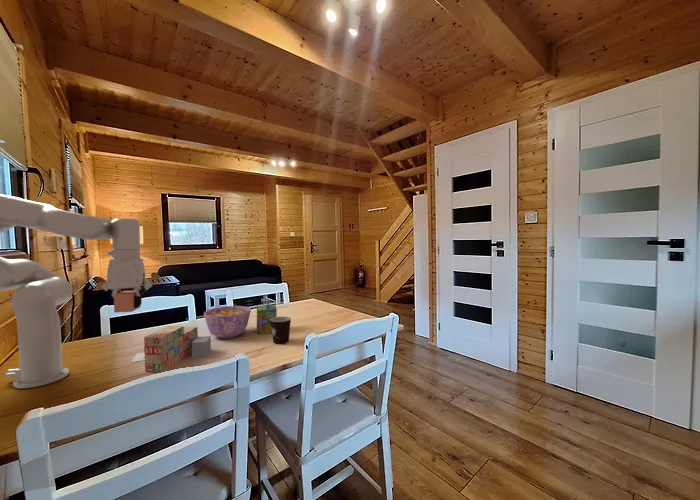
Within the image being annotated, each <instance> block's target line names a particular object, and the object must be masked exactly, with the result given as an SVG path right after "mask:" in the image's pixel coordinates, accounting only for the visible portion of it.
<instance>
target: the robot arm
mask: <svg viewBox="0 0 700 500" xmlns="http://www.w3.org/2000/svg"><path fill="white" fill-rule="evenodd" d="M17 226H18V227H21V228H27V229H32V230H37V231H41V232H45V233H50V234H56V235H59V236H65V237H70V238H73V239H74V238H75V239H79V240H86V241H87V240H88V241H105V240H112V250H111V251H108V253H107V255H108V256H110V257H112V258H110V259H109V262H108V266H107V271H106V273H107V274H106V281H105V282H104V283H103V284H102V285H101V289H102V290H104V291H105V292H107V293H108V294H110V295H111V297H112V298H113V299H114V294H117V293H120V292H122V289H133V291H134V292H135V297H134V308H138V307H140V308H141V305H142V296H143V294H145V293H146V292H147V290H149V289H150V288H152V287H153V284H152V283H151V282H150V281H149V280H148V279H147V278H146V277H147V276H146V269H145V263H144V261H143V258H141V241H140V240H141V237H140V236H141V233H140V232H141V231H140V229H141V228H140V222H139V220H137V219H135V218H128V217H127V218H126V217H125V218H124V217H123V218H120V217H119V218H118V217H117V218H114V219H111V218H105V217H100V216H91V215H87V214H86V215H85V214H83V213H77V212H72V211H67V210H63V209H60V208H56V207H55V206H53V205H51V204H48V203H42V202H37V201H33V200H28V199H25V198H24V199H23V198H22V197H17V196H12V195H6V194H0V233H3V232H6V231H8V230H10V229H13V228H15V227H17ZM143 286H144V287H143ZM11 290H14V293H13V294H12V295H11V296H12V297H11V305H12V310H13V311H14V314H15V315H14V316H15V320H16V327H17V329H16V330H17V341H18V342H17V343H18V363H19V368H10V369H8V370H7V371H6V373H5V378H6V379H8V378H15V380H14V381H13V382H12V387H13V388H15V389H32V388H36V387H37V388H38V387H42V386H44V385H48V384H52V383H55V382H57V381H60V380H62V379H64V378H65V377H67V376H68V375H69V374H70V369H69V368H67V367H63V349H62V348H63V347H62V331H61V318H60V315H59V312H58V309H57V306H59V305H63V304H64V303H65V302H67V301H69V300H70V299H71V297H72V296H73V292H74V291H73V290H74V289H73V286H72V284H71V283H70V282H69V281H68V280H66V279H65V278H64V277H62V276H61V275H58V274H57V273H55V272H54V271H52V270H50V269H48V268H47V267H46V266H43V265H42V264H40V263H39V262H36V261H34V260H31V259H26V258H14V259H13V258H12V259H11V258H10V259H9V258H5V257H3V256H1V255H0V292H5V291H11ZM138 309H139V308H138Z"/></svg>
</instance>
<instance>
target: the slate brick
mask: <svg viewBox="0 0 700 500" xmlns="http://www.w3.org/2000/svg"><path fill="white" fill-rule="evenodd" d="M211 340H212V339H211V335H209V336H208V335H207V336H206V335H205V336H198V337H196V339H195V340H194V341H193V342H192V353H191V358H192V359H200V358H202V359H203V358H208V356H209V355H210V353H211V351H212V348H211V347H212V346H211V345H212V344H211V343H212V341H211Z"/></svg>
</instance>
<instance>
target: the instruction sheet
mask: <svg viewBox="0 0 700 500" xmlns="http://www.w3.org/2000/svg"><path fill="white" fill-rule="evenodd" d="M136 362H145V352H137V353H136V354H135V356H134V357H133V359H132V360H131V363H136Z"/></svg>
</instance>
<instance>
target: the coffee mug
mask: <svg viewBox="0 0 700 500" xmlns="http://www.w3.org/2000/svg"><path fill="white" fill-rule="evenodd" d="M291 319H292V318H291V317H290V316H277V317H275V318H272V319H271V320H270V325H271V328H272V333H271V334H272V341H273V344H274V343H275V344H274V345H276V344H283V345H286V344H285V343H287V342H288V343H289V340H290V331H291V322H292V321H291ZM288 343H287V344H288Z"/></svg>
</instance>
